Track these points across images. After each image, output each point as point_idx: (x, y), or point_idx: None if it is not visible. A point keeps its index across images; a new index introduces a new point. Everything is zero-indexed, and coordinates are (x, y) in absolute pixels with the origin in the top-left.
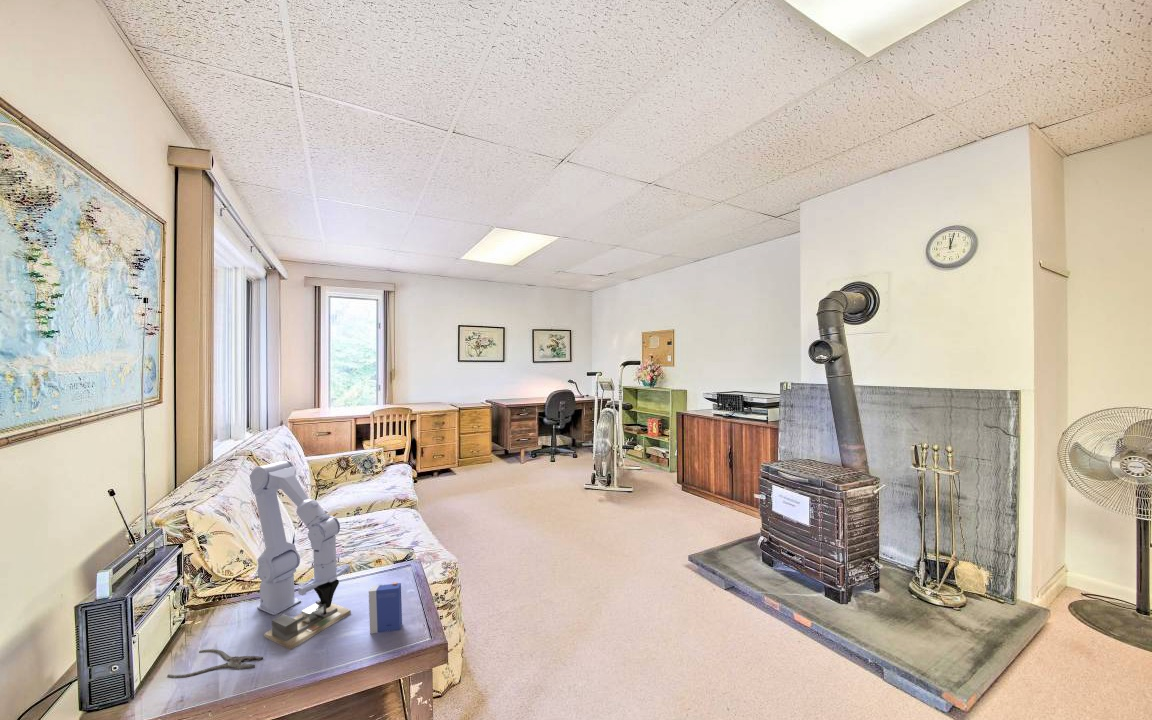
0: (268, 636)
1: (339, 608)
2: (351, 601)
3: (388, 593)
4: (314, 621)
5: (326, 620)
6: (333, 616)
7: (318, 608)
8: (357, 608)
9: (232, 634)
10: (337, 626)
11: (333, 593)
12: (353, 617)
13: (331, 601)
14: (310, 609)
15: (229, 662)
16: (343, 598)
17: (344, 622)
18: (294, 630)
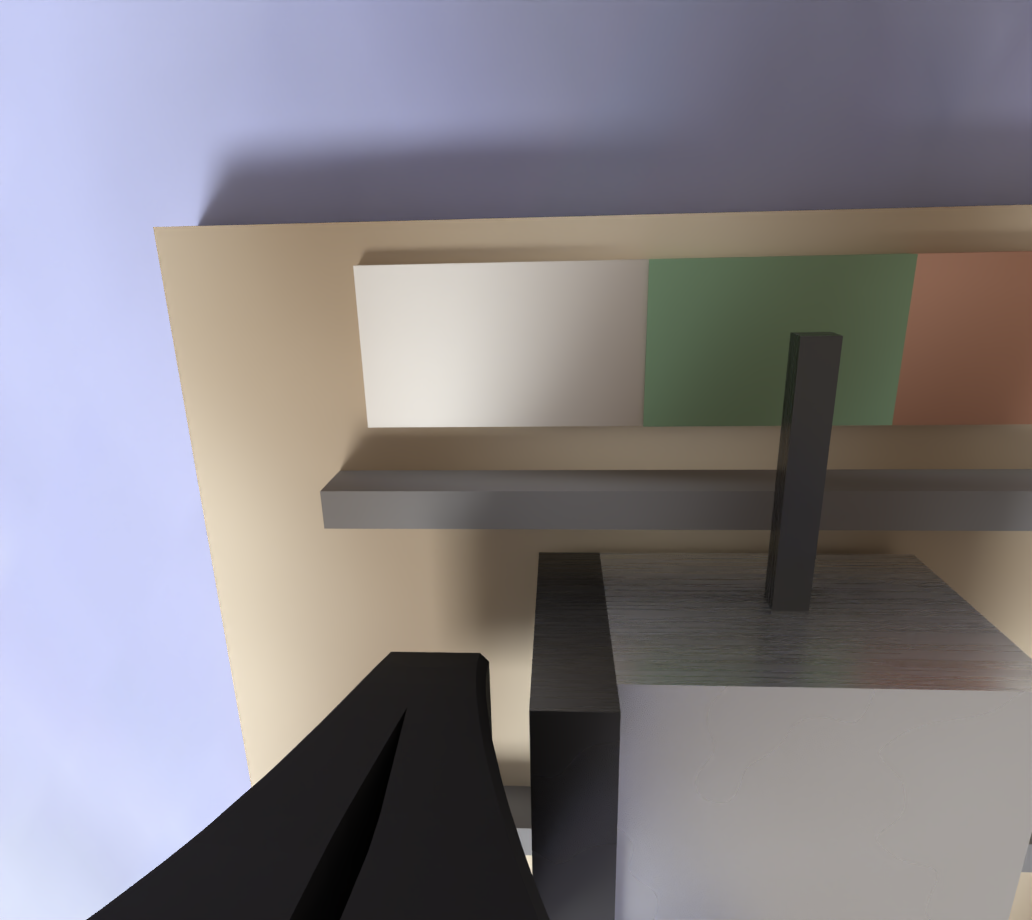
0: None
1: (267, 519)
2: (9, 593)
3: None
4: (879, 493)
5: (685, 333)
6: (514, 333)
7: (763, 700)
8: (30, 269)
9: None
10: (610, 26)
11: (170, 873)
12: (235, 11)
13: (340, 707)
14: (871, 848)
15: None
16: (61, 783)
17: (446, 22)
18: None
